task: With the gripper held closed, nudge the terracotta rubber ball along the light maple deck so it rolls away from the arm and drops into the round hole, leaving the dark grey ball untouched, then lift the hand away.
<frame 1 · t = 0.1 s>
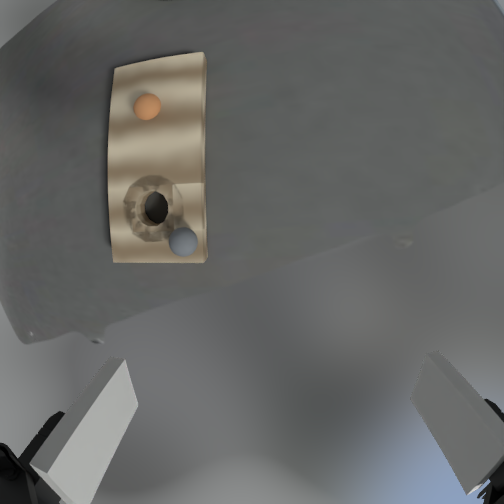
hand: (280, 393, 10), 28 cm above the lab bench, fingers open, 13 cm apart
ball: (147, 106, 29), point 5 cm above the lab bench, touching deck
grey ball: (183, 241, 32), point 5 cm above the lab bench, touching deck
deck: (158, 156, 35), on the lab bench
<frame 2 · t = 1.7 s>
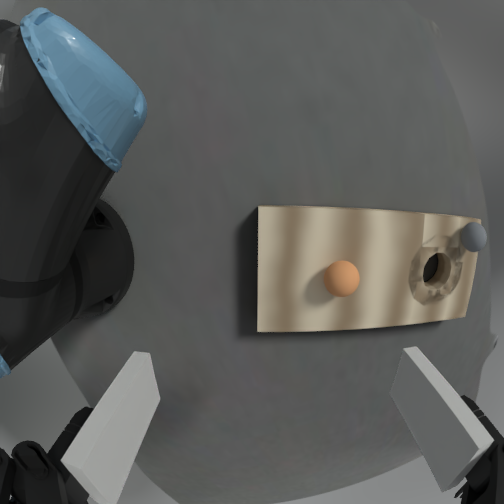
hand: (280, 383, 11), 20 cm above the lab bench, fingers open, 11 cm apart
ball: (341, 278, 26), point 5 cm above the lab bench, touching deck
grey ball: (473, 237, 24), point 5 cm above the lab bench, touching deck
deck: (378, 265, 30), on the lab bench
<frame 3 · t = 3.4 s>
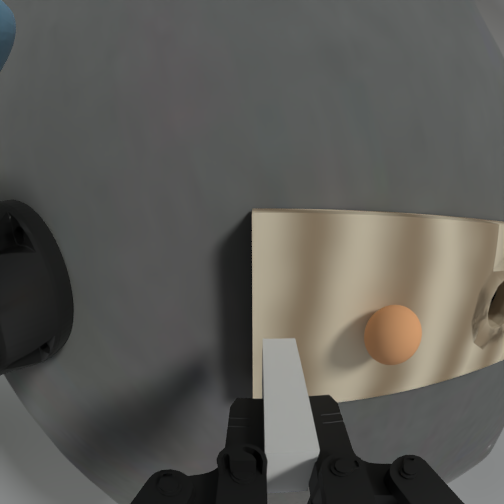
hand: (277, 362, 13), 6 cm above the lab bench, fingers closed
ball: (393, 335, 14), point 5 cm above the lab bench, touching deck
deck: (430, 298, 18), on the lab bench
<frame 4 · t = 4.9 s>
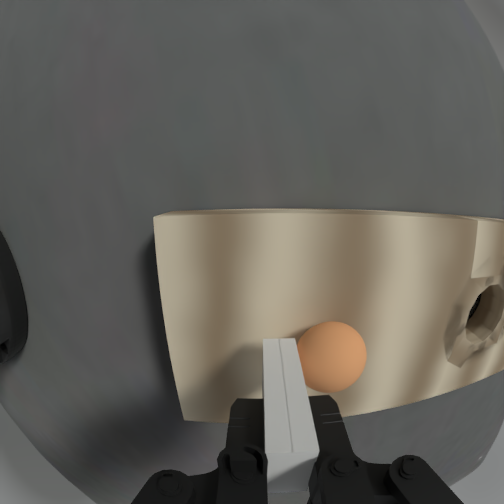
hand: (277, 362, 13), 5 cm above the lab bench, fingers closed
ball: (330, 357, 12), point 5 cm above the lab bench, tilted 6°, touching deck
deck: (393, 309, 17), on the lab bench
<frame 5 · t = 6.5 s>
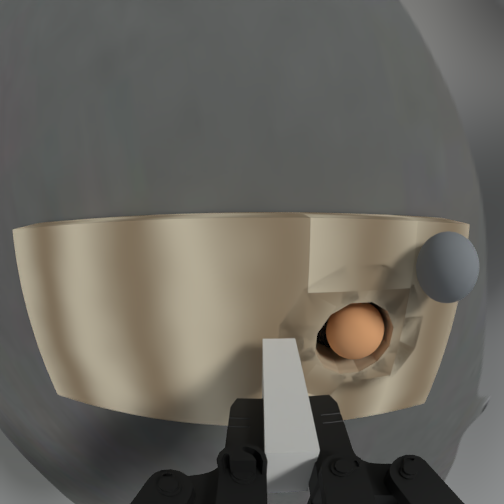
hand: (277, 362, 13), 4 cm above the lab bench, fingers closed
ball: (355, 330, 15), point 2 cm above the lab bench, tilted 122°
grey ball: (447, 267, 11), point 5 cm above the lab bench, touching deck
deck: (230, 319, 17), on the lab bench
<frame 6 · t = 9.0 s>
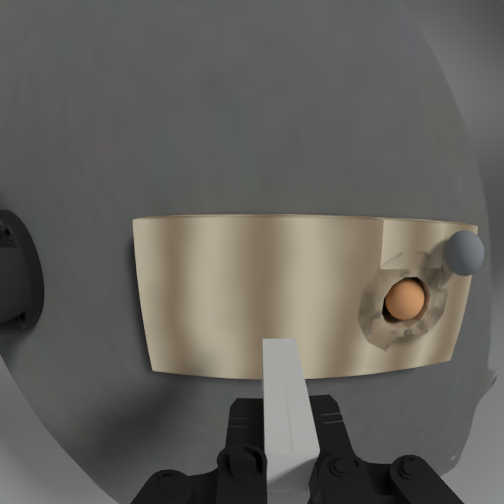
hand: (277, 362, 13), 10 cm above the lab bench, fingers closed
ball: (404, 299, 21), point 2 cm above the lab bench, tilted 125°
grey ball: (464, 253, 17), point 5 cm above the lab bench, touching deck
deck: (317, 294, 23), on the lab bench
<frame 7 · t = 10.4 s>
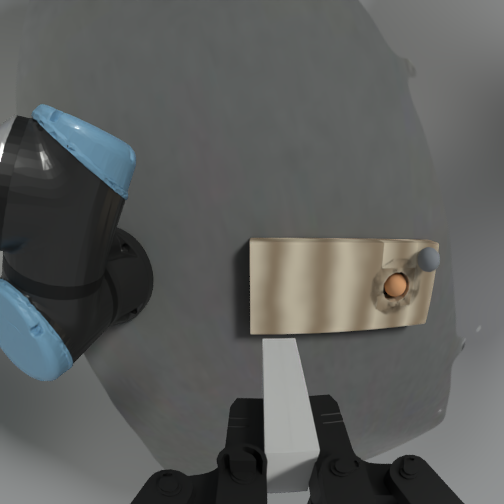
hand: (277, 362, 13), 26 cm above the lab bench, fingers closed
ball: (395, 284, 37), point 2 cm above the lab bench, tilted 124°
grey ball: (428, 259, 33), point 5 cm above the lab bench, touching deck
deck: (346, 282, 39), on the lab bench
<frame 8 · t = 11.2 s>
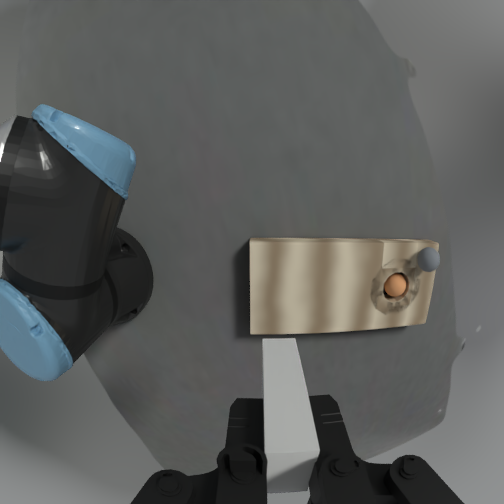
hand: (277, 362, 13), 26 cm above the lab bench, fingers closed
ball: (395, 284, 37), point 2 cm above the lab bench, tilted 123°
grey ball: (428, 259, 33), point 5 cm above the lab bench, touching deck
deck: (346, 282, 39), on the lab bench
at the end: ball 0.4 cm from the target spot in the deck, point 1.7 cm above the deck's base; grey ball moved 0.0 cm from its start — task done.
